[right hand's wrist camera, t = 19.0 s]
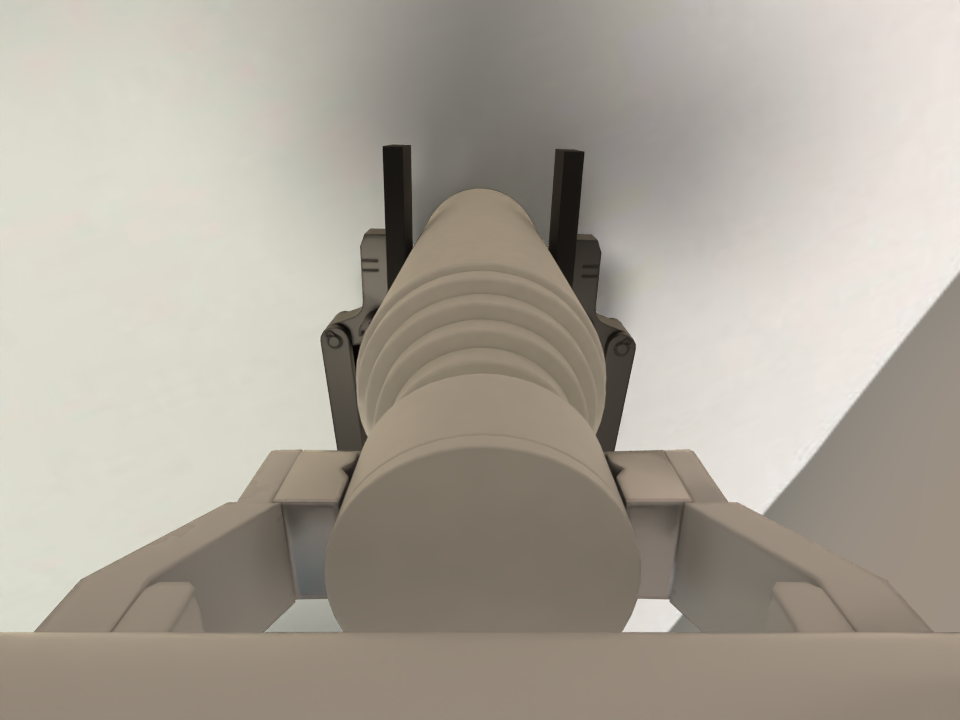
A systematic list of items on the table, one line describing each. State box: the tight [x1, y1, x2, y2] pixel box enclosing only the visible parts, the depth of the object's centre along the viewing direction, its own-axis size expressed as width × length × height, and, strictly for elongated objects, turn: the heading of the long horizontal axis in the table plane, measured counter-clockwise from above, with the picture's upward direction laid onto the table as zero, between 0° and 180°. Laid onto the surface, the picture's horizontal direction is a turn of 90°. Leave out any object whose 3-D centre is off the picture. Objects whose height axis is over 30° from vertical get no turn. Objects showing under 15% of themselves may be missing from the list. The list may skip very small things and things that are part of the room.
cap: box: [324, 374, 641, 632], centre depth 9 cm, size 4×4×2 cm
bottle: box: [356, 189, 606, 436], centre depth 20 cm, size 6×6×24 cm
